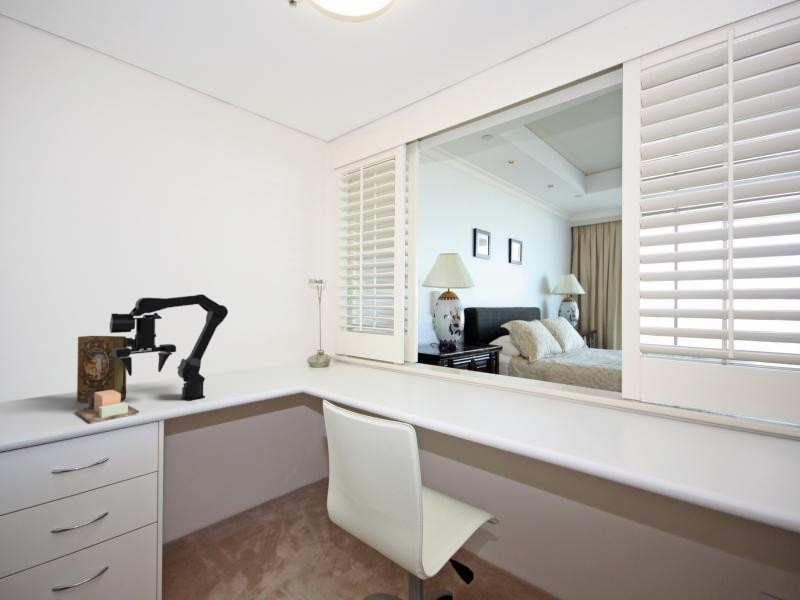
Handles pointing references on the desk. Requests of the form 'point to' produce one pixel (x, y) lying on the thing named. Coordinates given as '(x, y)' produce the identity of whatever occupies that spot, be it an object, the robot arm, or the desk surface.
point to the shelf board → (94, 416)
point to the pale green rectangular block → (113, 409)
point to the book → (99, 366)
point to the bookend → (91, 403)
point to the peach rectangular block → (106, 398)
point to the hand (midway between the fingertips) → (145, 373)
